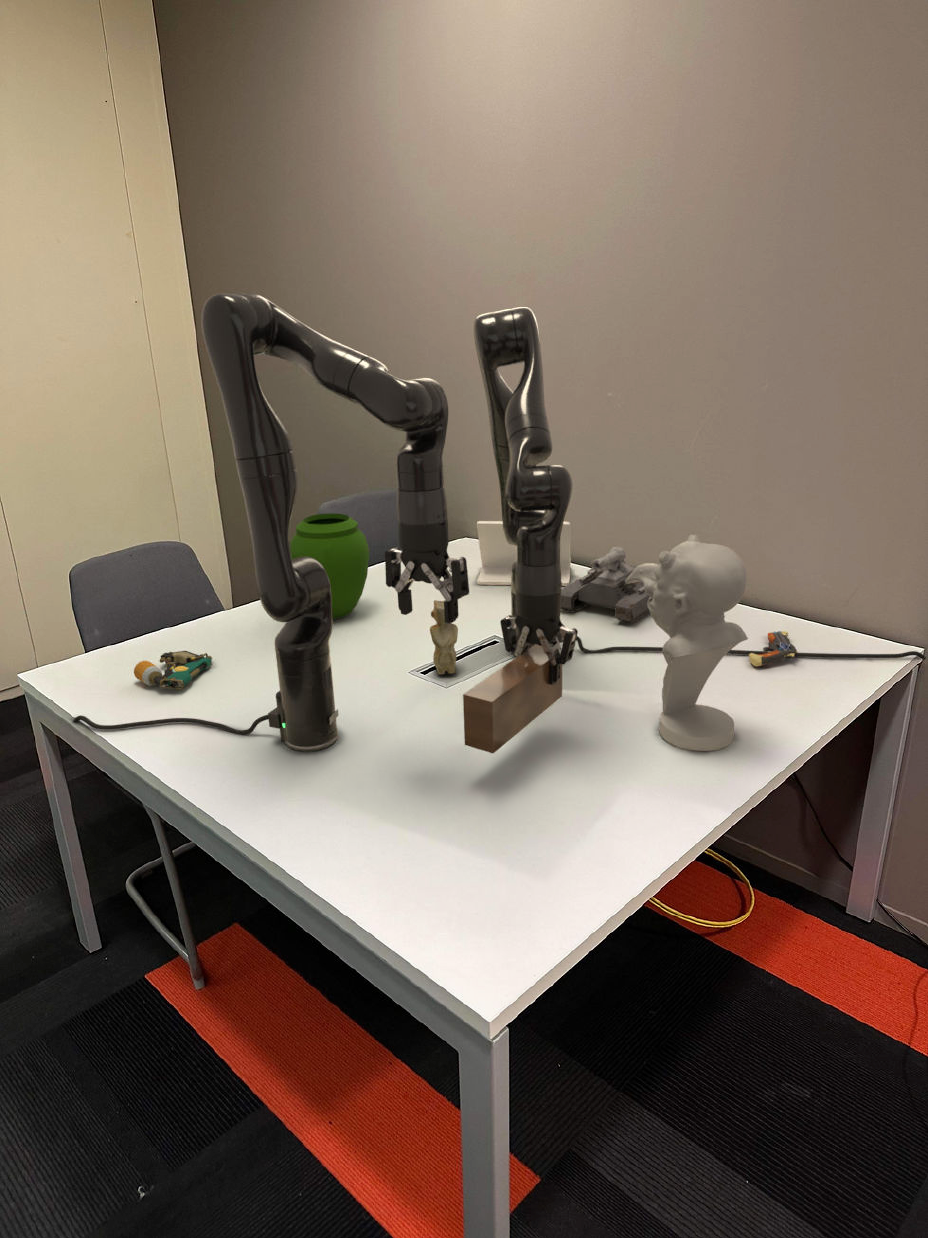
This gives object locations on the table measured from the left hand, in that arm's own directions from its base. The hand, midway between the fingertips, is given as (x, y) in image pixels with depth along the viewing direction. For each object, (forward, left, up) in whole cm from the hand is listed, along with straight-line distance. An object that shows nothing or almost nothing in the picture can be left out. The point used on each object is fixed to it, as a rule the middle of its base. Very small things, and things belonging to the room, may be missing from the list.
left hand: (428, 617), depth 134 cm
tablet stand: (-23, +102, -27) cm, 108 cm away
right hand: (+13, +15, -15) cm, 25 cm away
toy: (+7, +87, -27) cm, 92 cm away
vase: (-56, +57, -27) cm, 84 cm away
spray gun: (-67, +13, -27) cm, 73 cm away
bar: (+12, +8, -20) cm, 24 cm away
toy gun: (+46, +69, -27) cm, 87 cm away
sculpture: (-15, +36, -27) cm, 47 cm away
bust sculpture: (+34, +28, -27) cm, 51 cm away
